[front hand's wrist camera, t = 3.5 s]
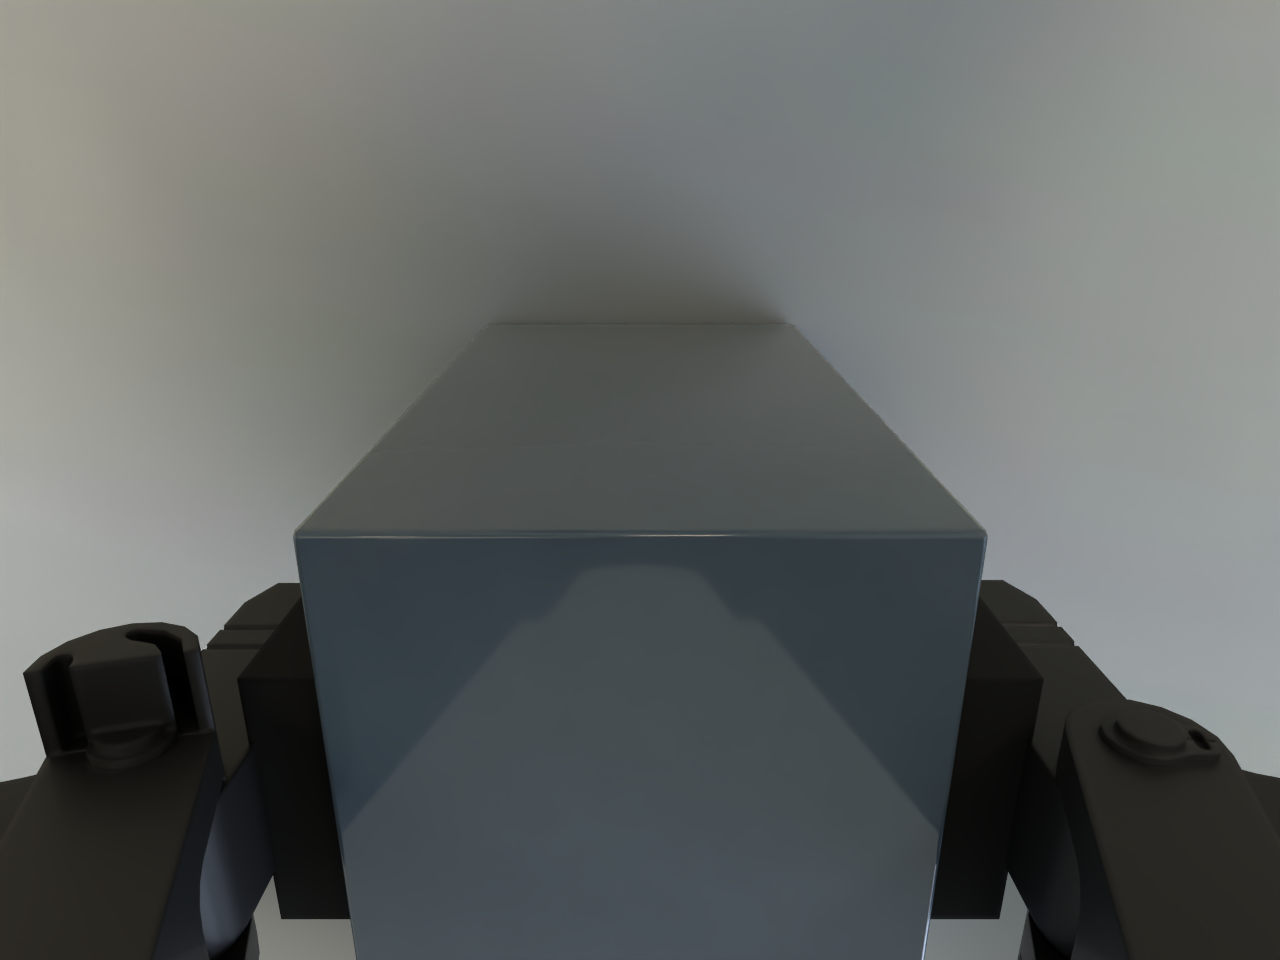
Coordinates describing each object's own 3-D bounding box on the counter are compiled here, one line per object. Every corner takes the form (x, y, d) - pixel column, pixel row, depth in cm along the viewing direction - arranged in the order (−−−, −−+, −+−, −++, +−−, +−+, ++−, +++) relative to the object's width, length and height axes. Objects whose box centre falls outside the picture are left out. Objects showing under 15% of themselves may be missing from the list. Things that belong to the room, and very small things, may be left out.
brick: (485, 322, 15) (288, 531, 7) (794, 323, 15) (992, 531, 7) (503, 607, 17) (367, 1051, 9) (777, 607, 17) (912, 1051, 9)
